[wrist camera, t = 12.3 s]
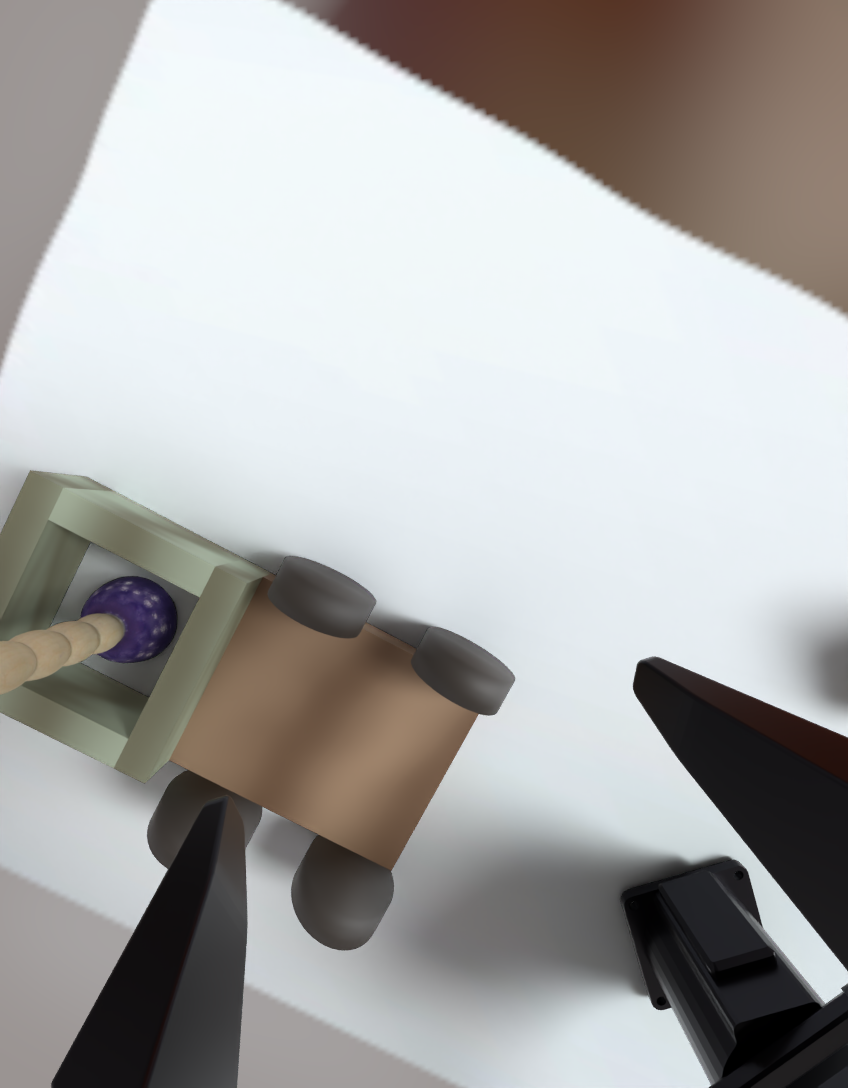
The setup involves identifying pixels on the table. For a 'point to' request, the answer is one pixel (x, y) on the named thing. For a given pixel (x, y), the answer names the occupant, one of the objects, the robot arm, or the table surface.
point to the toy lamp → (95, 633)
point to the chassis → (253, 696)
